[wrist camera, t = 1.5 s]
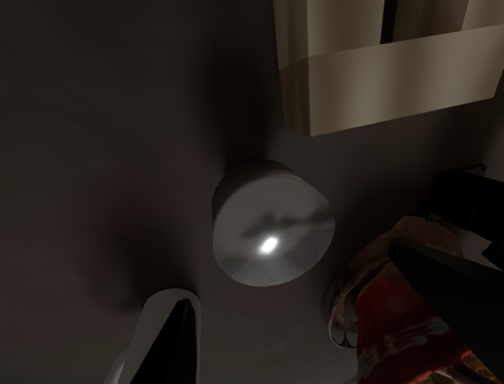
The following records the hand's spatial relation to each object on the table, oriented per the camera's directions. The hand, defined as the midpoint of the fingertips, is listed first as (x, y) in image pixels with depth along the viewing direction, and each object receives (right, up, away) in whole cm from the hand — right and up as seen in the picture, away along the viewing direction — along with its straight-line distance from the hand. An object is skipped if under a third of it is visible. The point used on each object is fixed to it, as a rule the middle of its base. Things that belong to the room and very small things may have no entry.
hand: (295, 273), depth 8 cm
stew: (+18, -12, +23) cm, 31 cm away
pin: (-2, +5, +10) cm, 11 cm away
